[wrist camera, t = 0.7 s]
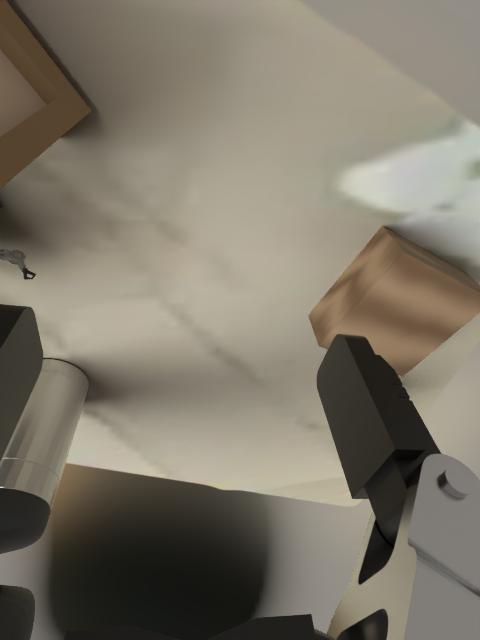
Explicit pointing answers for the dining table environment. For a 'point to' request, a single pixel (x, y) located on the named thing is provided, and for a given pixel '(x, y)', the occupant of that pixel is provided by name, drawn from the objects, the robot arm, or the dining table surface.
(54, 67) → the photo frame
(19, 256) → the figurine
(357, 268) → the walnut block
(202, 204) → the dining table surface
